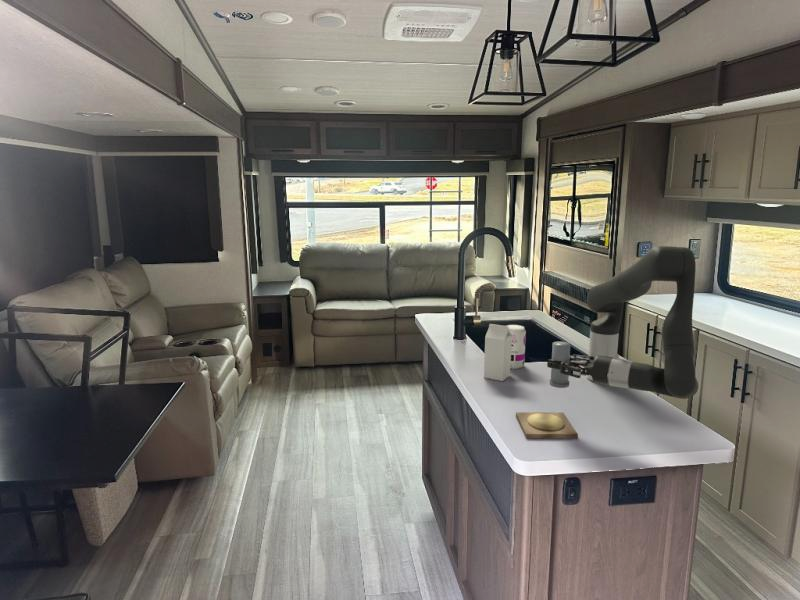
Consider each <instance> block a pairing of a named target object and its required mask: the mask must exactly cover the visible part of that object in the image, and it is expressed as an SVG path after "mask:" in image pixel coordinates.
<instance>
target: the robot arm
mask: <svg viewBox="0 0 800 600" xmlns="http://www.w3.org/2000/svg"><path fill="white" fill-rule="evenodd" d="M695 257H696V256H695V254H694V252H693V250H692V249H690V248H689V247H685V246H669V245H667V246H666V245H661V246H659V245H658V246H655V247H652V248H651V249H650V250H648V251H647V252H646V253H645V254H644V255H643V256H641V258H640V259H639V260H637V261H636V262H635V263H633V264H632V265H630V266H629V267H627V268H624V270H621V271H620V272H619V273H617V274H616V275H614V276H613V277H611V278H609V279H608V280H606V281H604V282H602V283H599V284H596V285H594V286H592V287H591V288H590V289H589V291H588V293H587V296H586V303H587V307H588V308H589V310H591V311H592V312H594V313H598V314H600V313H601V314H603V313H604V314H605V315H604V316H602V317H600V318H598V319H595V320H593V321H592V322H591V324H590V330H589V332H590V333H589V341H588V342H589V343H588V344H589V345H588V355H583V354H582V355H581V354H572V355H570V361H569V362H561V361H556V360H552V358H551V359H548V360H547V361H546V362H547V364H546V365H547V366H546V367H547V368H548V369H549V368H550V369H551V368H554V369H559V370H560V373H562V374H565V375H569V377H573V378H577V379H580V378H581V376H584V377H586V378H587V379H588V380H589V381H592V382H593V383H596V384H601V385H605V386H611V387H617V388H624V389H625V388H626V389H632V390H635V391H636V390H638V391H641V392H643V391H644V392H650V393H651V392H653V393H655V394H660V395H664V396H667V397H672V398H676V399H681V400H682V399H683V400H684V399H690V398H692V397H694V396H695V395H696V394H697V392H698V390H699V382H698V379H697V377H696V370H695V369H696V368H695V361H694V357H695V342H694V341H695V340H694V333H693V330H694V329H693V308H694V298H695V297H694V296H695V285H696V270H697V269H696V268H697V266H696V258H695ZM652 282H674V283H675V282H676V297H675V299H674V302H673V304H672V306H670V307H671V308H670V309H669V311H668V312H667V315H666V316H665V318H664V320H663V324H662V328H661V330H662V331H661V334H662V347H663V353H664V363H663V364H664V365H663V367H664V368H662V367H656V366H654V365H652V364H648V363H642V362H638V361H637V362H636V361H631V360H628V359H623V358H620V355H619V354H618V347H619V336H620V335H619V333H620V328H621V325H622V317H623V310H624V304H625V302H630V301H634V300H637V299H638V298H640V297H642V296H644V295H645V294H647V293H648V292H649V290H650V289H651V287H652V285H653V284H652ZM565 368H568V369H565Z"/></svg>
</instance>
